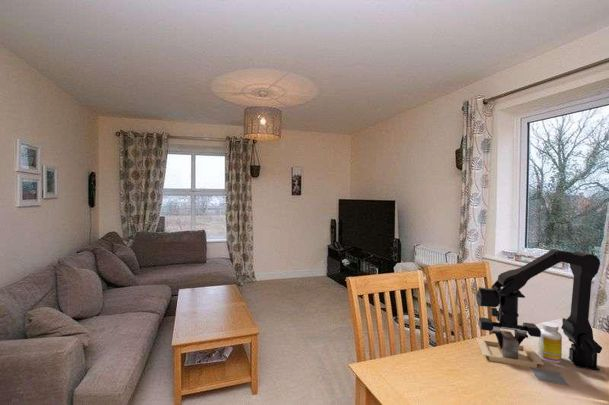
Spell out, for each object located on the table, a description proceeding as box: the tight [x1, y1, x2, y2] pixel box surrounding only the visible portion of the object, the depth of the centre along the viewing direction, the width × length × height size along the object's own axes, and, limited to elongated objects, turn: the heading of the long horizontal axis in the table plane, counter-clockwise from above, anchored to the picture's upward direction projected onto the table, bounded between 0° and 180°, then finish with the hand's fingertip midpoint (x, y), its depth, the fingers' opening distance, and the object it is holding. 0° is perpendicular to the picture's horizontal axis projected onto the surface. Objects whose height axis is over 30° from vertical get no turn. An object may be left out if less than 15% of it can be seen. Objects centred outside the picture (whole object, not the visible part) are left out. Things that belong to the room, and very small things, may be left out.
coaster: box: [529, 367, 571, 387], centre depth 102 cm, size 8×8×1 cm
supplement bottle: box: [537, 321, 563, 364], centre depth 113 cm, size 7×7×13 cm
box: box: [498, 329, 519, 359], centre depth 115 cm, size 4×9×7 cm, turn 161°
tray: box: [476, 338, 545, 368], centre depth 115 cm, size 18×13×2 cm
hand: (507, 349), depth 115 cm, fingers closed on box, 4 cm apart
